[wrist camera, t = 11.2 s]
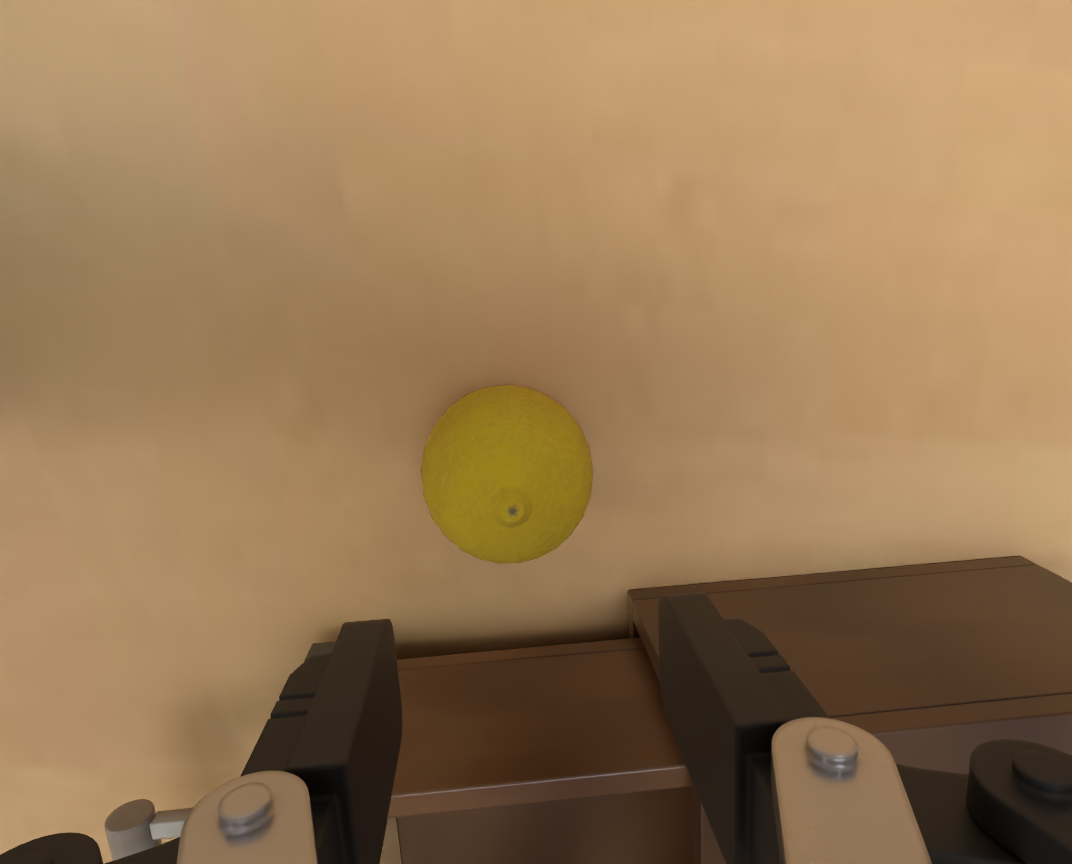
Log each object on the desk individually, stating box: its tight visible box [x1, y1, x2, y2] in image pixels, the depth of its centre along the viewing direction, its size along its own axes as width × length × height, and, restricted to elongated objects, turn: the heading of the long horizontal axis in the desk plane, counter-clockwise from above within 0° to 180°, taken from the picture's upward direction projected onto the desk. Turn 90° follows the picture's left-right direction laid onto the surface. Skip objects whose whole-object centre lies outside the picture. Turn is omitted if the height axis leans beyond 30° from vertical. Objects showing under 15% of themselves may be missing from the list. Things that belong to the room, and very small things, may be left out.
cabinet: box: [628, 556, 1072, 864], centre depth 26 cm, size 17×15×10 cm
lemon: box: [421, 385, 593, 563], centre depth 23 cm, size 6×6×8 cm
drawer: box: [104, 637, 693, 864], centre depth 25 cm, size 21×14×8 cm, turn 94°
